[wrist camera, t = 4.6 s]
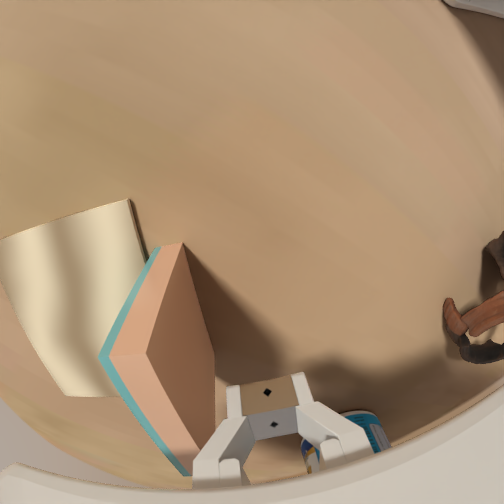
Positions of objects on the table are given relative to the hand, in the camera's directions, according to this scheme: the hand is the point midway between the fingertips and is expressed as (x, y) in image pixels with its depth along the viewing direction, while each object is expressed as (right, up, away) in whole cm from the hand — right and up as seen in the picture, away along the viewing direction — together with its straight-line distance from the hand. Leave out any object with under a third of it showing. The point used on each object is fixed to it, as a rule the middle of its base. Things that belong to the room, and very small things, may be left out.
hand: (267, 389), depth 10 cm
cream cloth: (-12, +1, +6) cm, 13 cm away
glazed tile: (-5, +2, +7) cm, 8 cm away
